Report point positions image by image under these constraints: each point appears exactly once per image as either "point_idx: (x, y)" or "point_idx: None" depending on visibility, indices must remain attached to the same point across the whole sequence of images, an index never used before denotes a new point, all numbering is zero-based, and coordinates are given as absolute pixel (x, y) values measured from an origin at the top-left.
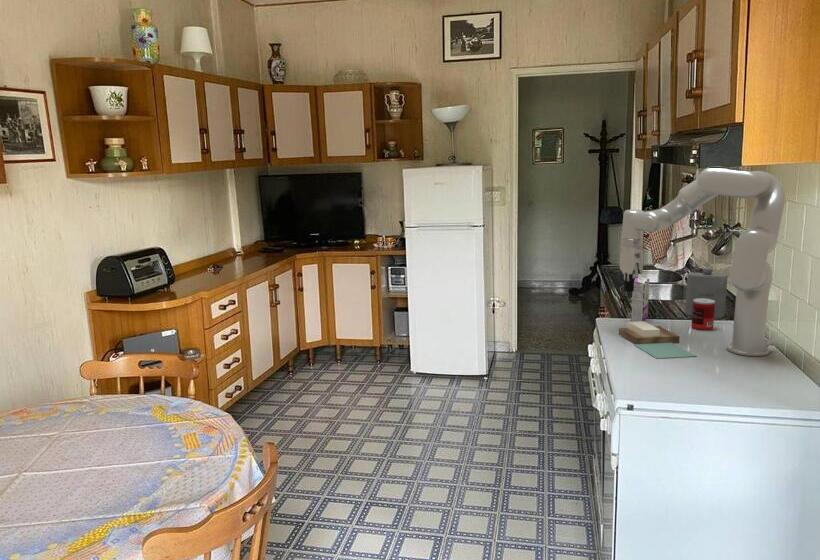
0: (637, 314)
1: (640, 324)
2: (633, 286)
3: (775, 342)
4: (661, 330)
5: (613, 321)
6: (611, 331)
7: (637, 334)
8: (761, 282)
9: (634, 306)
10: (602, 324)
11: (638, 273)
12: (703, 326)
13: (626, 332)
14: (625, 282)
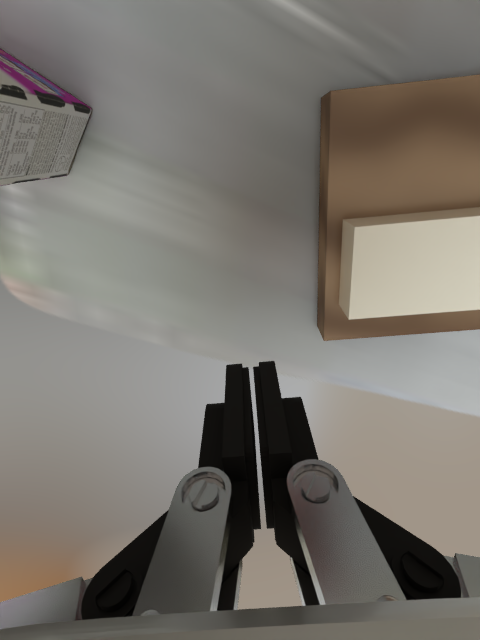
0: (56, 142)
1: (422, 277)
2: (279, 397)
3: None
4: (431, 130)
5: (72, 269)
6: (261, 337)
7: None
8: None
9: (17, 165)
10: (138, 336)
11: (470, 619)
12: None
13: (404, 334)
14: (259, 514)
